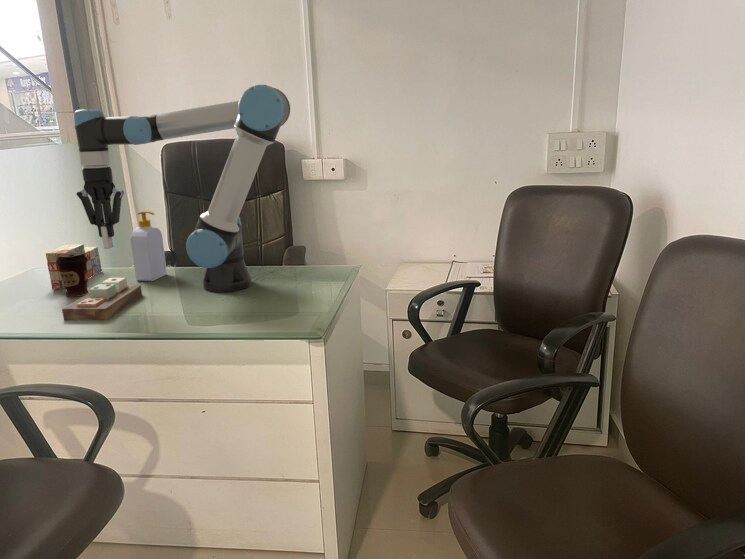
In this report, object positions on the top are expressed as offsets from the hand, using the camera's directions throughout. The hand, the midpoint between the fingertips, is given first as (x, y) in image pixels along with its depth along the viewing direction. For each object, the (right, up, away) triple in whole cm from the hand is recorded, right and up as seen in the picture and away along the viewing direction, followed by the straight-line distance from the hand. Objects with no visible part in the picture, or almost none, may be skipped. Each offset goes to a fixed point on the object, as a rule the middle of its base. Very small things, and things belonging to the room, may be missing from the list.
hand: (108, 247), depth 164 cm
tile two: (0, -14, -3) cm, 15 cm away
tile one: (0, -12, +4) cm, 13 cm away
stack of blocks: (-23, -10, +27) cm, 37 cm away
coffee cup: (-15, -14, +10) cm, 23 cm away
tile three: (0, -18, -9) cm, 20 cm away
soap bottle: (+2, -9, +28) cm, 29 cm away
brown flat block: (0, -17, -2) cm, 17 cm away
